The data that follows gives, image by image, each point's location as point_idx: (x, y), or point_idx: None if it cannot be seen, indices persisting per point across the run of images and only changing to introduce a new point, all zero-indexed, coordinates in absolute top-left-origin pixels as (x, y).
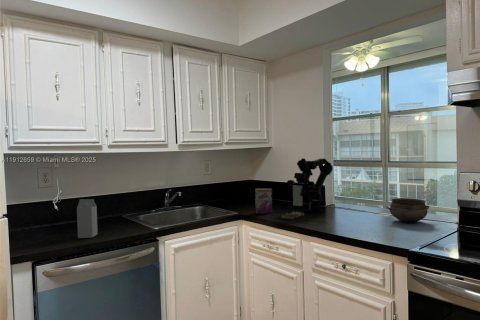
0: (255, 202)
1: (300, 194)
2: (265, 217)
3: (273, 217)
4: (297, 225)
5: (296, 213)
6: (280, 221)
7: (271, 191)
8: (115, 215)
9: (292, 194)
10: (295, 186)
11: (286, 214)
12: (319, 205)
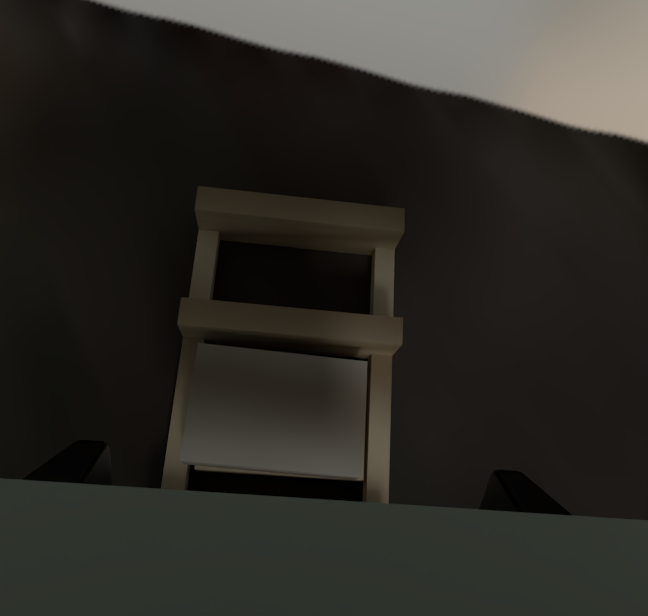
0: None
1: (80, 448)
2: (617, 215)
3: (537, 265)
4: (42, 29)
5: (258, 442)
6: (324, 112)
7: None
8: None
9: (492, 476)
10: (511, 518)
11: (384, 320)
12: None
